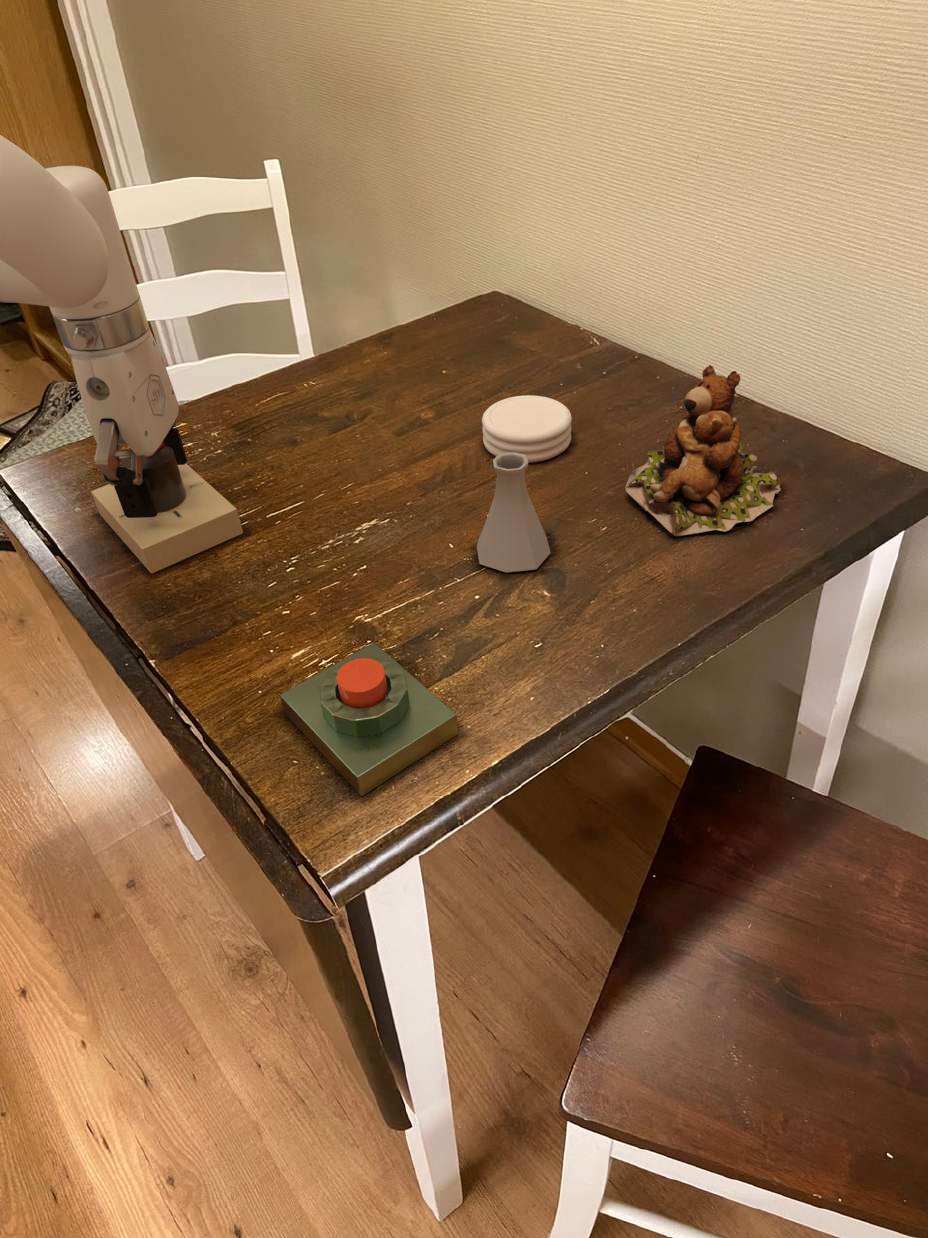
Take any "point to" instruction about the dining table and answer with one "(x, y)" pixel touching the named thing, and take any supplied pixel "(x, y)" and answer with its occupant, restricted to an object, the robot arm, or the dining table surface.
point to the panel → (173, 523)
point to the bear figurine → (704, 467)
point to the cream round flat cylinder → (527, 427)
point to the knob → (162, 477)
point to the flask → (512, 521)
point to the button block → (370, 722)
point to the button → (362, 683)
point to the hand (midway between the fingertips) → (158, 488)
